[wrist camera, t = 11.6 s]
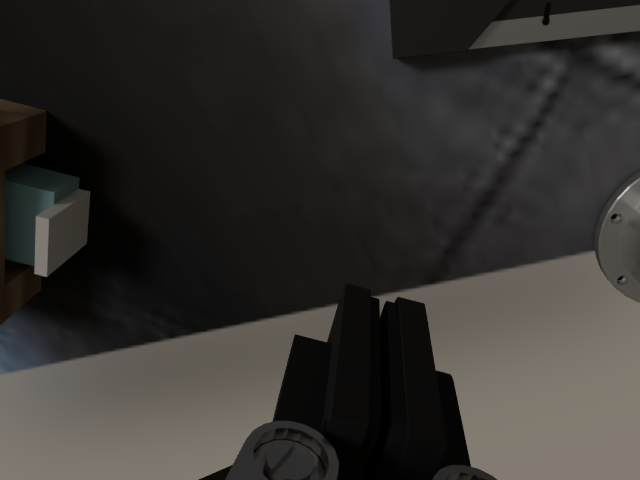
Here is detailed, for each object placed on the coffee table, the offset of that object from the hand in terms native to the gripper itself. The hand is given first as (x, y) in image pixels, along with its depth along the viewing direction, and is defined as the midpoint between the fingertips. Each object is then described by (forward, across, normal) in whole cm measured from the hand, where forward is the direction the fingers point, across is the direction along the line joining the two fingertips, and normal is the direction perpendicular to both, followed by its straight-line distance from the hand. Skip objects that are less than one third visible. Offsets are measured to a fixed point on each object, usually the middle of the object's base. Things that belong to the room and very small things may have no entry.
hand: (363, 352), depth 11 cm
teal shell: (+33, +29, +16) cm, 47 cm away
